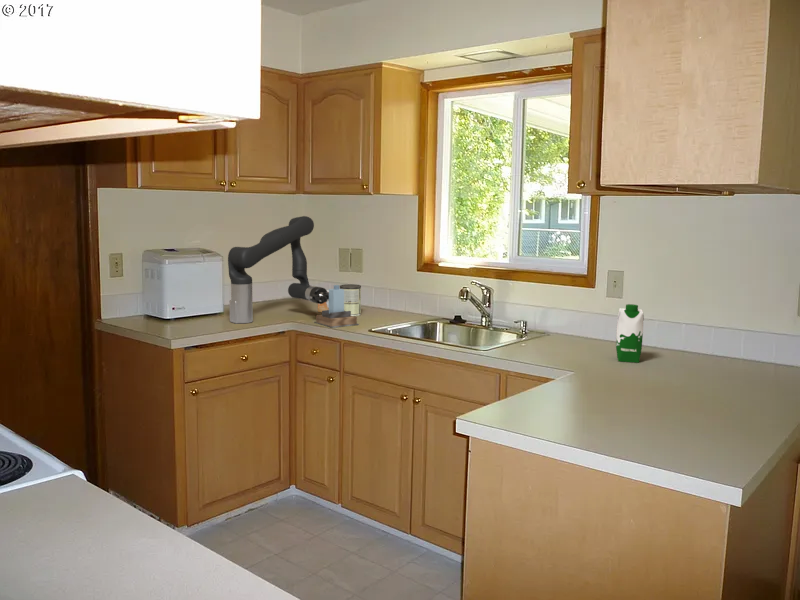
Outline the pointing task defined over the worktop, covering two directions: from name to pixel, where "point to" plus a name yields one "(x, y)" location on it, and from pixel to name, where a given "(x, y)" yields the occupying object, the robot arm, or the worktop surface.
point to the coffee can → (352, 298)
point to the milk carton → (629, 333)
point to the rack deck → (336, 319)
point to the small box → (323, 306)
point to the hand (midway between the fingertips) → (334, 298)
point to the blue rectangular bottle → (336, 299)
